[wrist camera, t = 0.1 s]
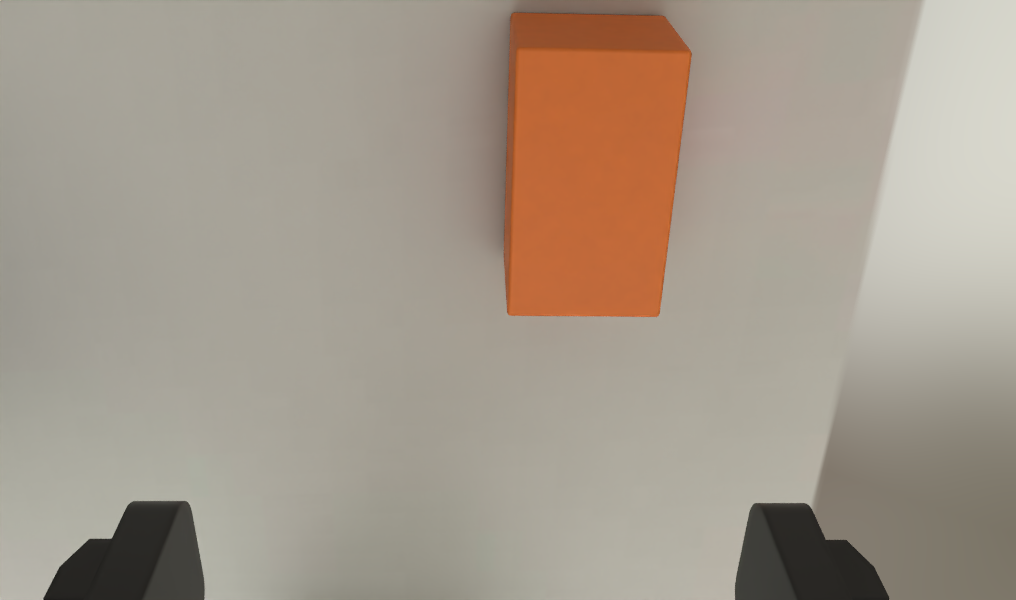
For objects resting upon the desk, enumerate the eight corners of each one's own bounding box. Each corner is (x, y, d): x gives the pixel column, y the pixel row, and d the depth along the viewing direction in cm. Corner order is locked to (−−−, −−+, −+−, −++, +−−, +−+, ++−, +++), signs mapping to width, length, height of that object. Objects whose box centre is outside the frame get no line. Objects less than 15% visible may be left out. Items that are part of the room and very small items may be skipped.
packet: (510, 11, 24) (515, 47, 21) (665, 15, 24) (692, 50, 21) (503, 255, 28) (507, 316, 25) (639, 257, 28) (659, 318, 25)
